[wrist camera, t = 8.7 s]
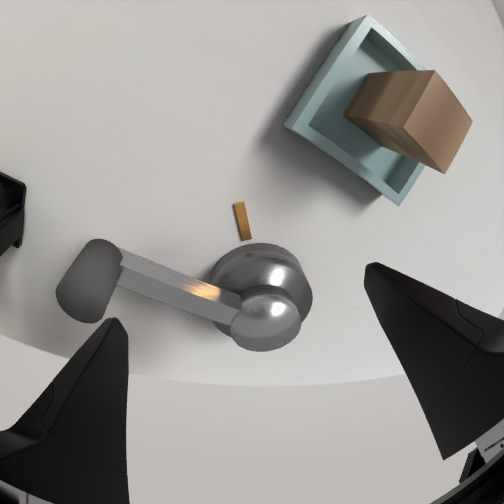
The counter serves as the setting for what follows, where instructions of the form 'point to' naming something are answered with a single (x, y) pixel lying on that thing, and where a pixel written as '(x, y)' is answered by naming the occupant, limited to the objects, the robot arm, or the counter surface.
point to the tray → (338, 98)
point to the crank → (176, 296)
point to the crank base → (260, 270)
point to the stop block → (411, 115)
